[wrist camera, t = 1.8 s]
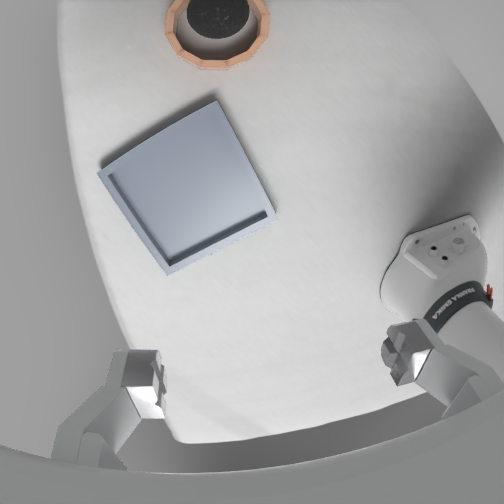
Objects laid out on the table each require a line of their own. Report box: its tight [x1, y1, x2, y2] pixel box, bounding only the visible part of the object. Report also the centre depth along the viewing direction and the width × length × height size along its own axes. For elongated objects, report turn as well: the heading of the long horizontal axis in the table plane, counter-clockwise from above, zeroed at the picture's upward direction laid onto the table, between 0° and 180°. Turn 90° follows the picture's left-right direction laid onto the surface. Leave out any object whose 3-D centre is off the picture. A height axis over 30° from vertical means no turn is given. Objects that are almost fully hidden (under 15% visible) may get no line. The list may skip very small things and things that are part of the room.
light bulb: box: [187, 0, 249, 39], centre depth 23 cm, size 6×6×10 cm
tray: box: [97, 100, 279, 276], centre depth 36 cm, size 16×16×2 cm
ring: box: [165, 0, 270, 70], centre depth 26 cm, size 11×11×3 cm
